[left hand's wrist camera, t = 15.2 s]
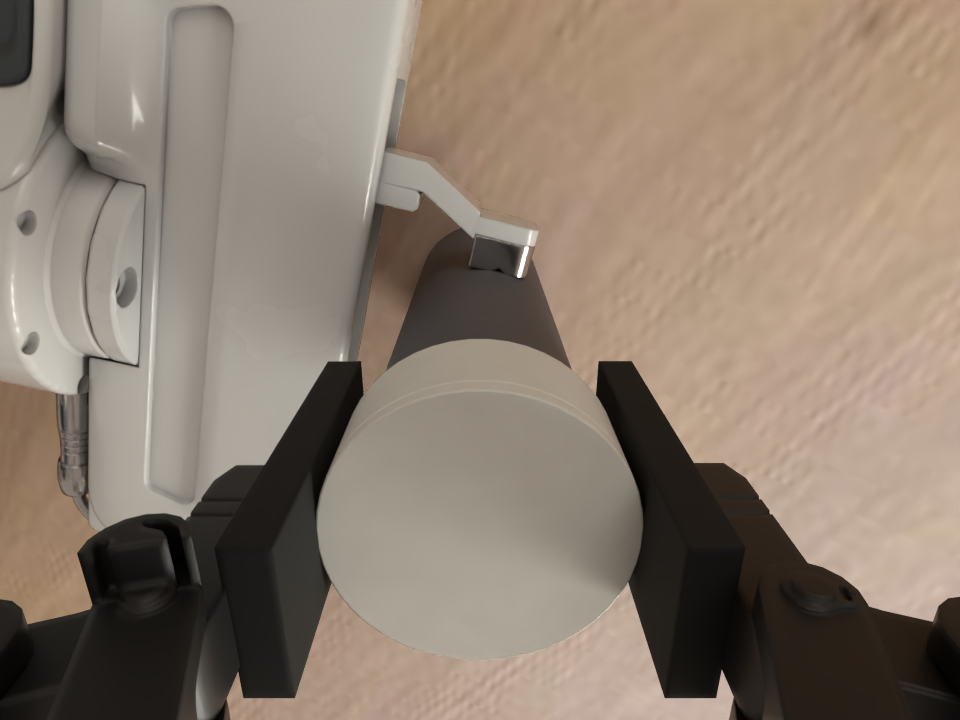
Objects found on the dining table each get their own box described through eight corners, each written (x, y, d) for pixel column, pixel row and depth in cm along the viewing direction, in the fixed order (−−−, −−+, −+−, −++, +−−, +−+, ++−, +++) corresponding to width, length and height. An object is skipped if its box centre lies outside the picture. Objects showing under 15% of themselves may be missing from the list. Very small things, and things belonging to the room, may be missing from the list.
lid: (643, 535, 13) (676, 617, 11) (403, 600, 14) (389, 690, 12) (573, 299, 11) (596, 343, 9) (298, 388, 12) (258, 449, 10)
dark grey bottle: (423, 336, 27) (353, 617, 12) (420, 225, 25) (332, 390, 10) (534, 337, 27) (602, 617, 12) (538, 225, 25) (625, 391, 10)
